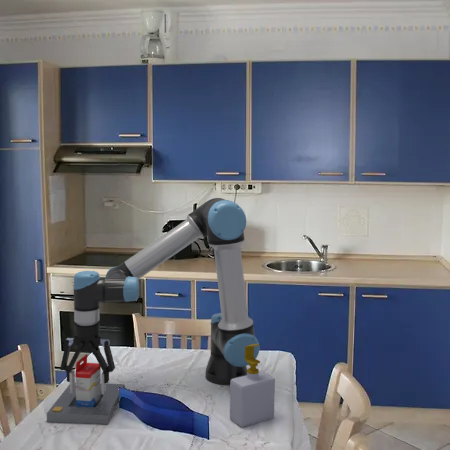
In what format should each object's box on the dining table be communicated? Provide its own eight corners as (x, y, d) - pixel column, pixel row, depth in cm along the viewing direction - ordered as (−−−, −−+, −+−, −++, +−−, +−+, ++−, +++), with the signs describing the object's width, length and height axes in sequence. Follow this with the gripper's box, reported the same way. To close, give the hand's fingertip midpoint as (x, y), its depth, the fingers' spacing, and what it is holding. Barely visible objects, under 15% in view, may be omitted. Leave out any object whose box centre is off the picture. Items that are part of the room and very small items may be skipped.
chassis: (124, 392, 181) (124, 383, 181) (107, 424, 160) (107, 414, 159) (71, 390, 182) (71, 381, 182) (46, 422, 160) (46, 412, 160)
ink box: (90, 410, 166) (89, 364, 164) (75, 409, 167) (74, 363, 165) (101, 398, 174) (100, 354, 173) (86, 397, 175) (86, 353, 173)
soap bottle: (241, 428, 159) (242, 350, 156) (228, 419, 164) (230, 343, 161) (274, 418, 165) (276, 343, 162) (261, 409, 171) (263, 337, 168)
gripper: (125, 319, 171) (125, 388, 173) (56, 317, 172) (57, 385, 174) (119, 326, 163) (120, 398, 166) (47, 324, 164) (49, 395, 167)
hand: (88, 391), depth 170 cm, fingers open, 9 cm apart
